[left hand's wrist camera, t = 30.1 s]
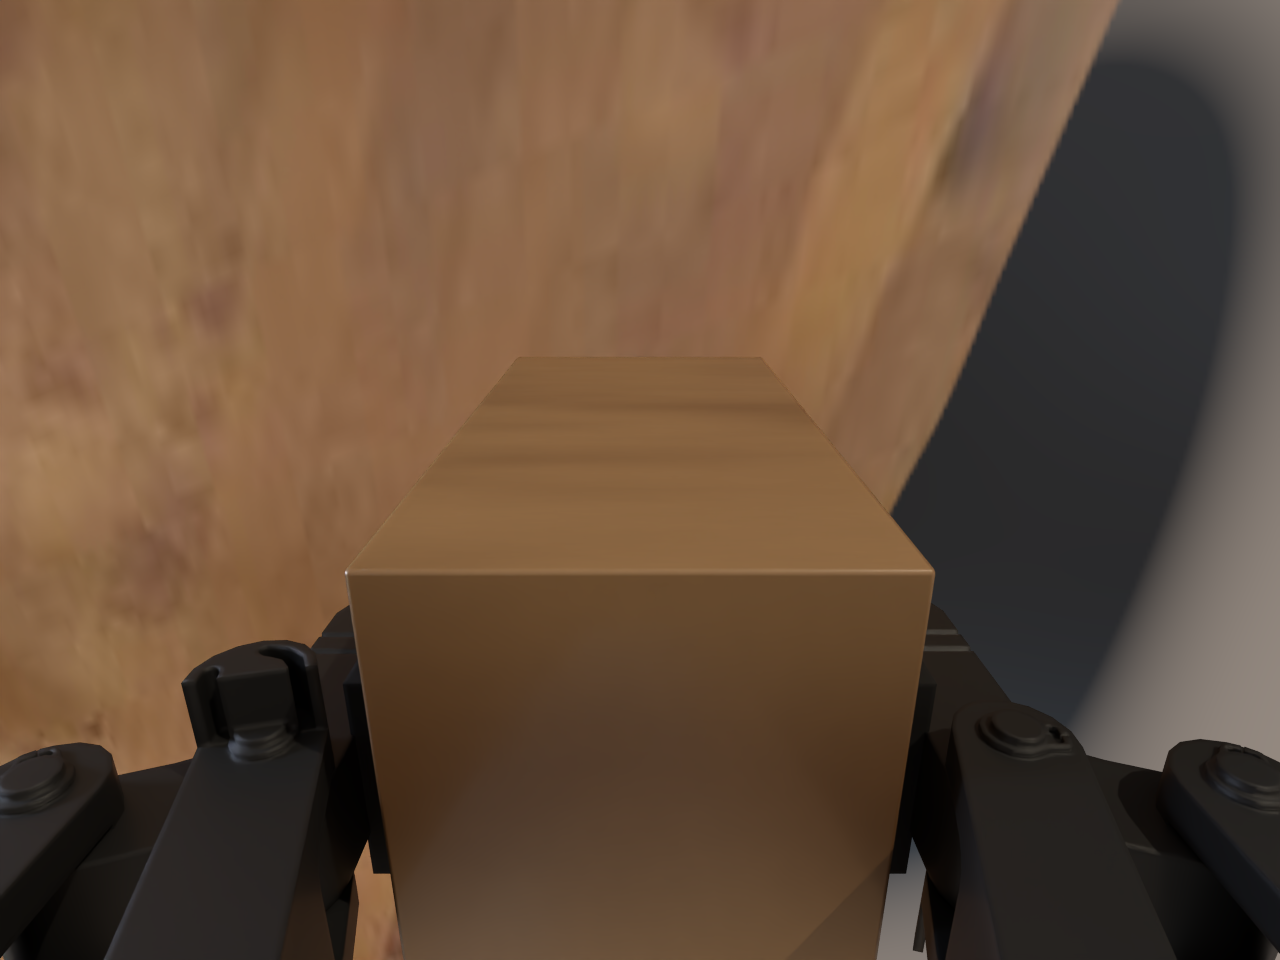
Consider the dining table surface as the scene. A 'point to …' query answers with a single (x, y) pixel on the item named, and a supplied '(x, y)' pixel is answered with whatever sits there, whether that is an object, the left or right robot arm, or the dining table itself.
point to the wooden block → (639, 674)
